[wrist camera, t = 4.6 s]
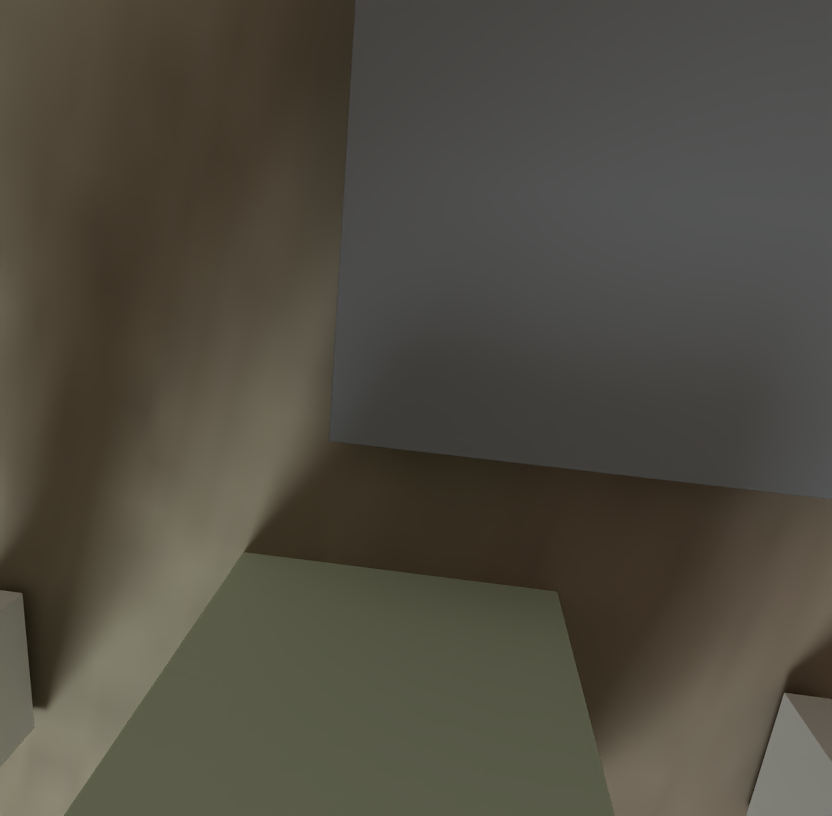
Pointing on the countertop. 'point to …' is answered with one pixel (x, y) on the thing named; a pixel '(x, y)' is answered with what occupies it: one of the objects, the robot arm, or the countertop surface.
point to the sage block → (359, 704)
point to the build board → (591, 237)
